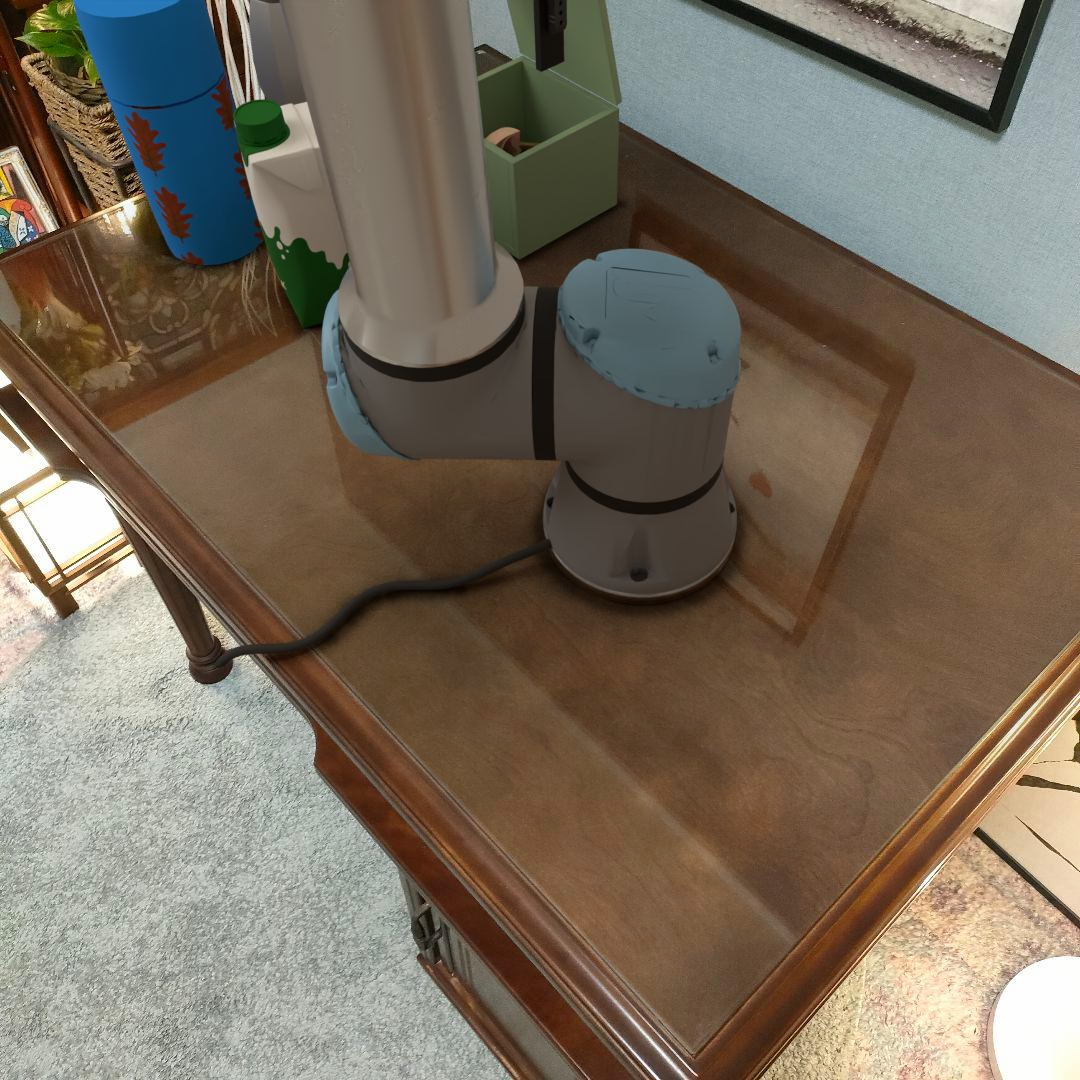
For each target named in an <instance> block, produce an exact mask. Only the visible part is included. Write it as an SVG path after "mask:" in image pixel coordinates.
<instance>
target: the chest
mask: <svg viewBox="0 0 1080 1080" xmlns="http://www.w3.org/2000/svg"><path fill="white" fill-rule="evenodd" d="M477 80H478V90H479V99H480V109H481V118H482V128H483V137H484V147H485V156H486V166H487V175H488V184H489V194H490V203H491V213H492V222H493V232H494V241H495V242H497V243H498V244H499V245H501V246H502V247H503V248H504V249H506V250H507V251H508V253H509V254H510V255H511V256H512V257H515V258H516V259H518V260H521V259H524V257H526V256H528V255H530V254H532V253H533V252H535V251H537V250H539V249H541V248H542V247H544V246H546V245H548V244H549V243H552V242H553V241H554V240H557V239H559V238H560V237H562V236H564V235H565V234H567V233H569V232H571V231H573V230H574V229H576V228H578V227H579V226H582V225H583V224H585V223H586V222H588V221H590V220H592V219H593V218H595V217H597V216H599V215H600V214H602V213H604V212H606V211H608V210H609V209H611V208H613V207H615V206H617V204H618V176H619V175H618V174H619V171H618V170H619V137H620V136H619V135H620V133H619V132H620V108H619V107H618V106H616V105H614V104H612V103H611V102H609V101H607V100H605V99H603V98H601V97H600V96H598V95H596V94H594V93H592V92H591V91H589V90H587V89H585V88H583V87H581V86H580V85H578V84H576V83H574V82H572V81H570V80H569V79H567V78H565V77H563V76H561V75H560V74H558V73H556V72H554V71H552V70H550V69H547V70H545V71H543V72H540V71H538V70H537V69H536V61H534V60H532V59H530V58H529V57H527V56H525V55H521V56H518V57H515V58H514V59H512V60H509V61H508V62H506V63H503V64H501V65H499V66H497V67H495V68H493V69H490V70H489V71H486V72H484V73H483V74H480V75H477ZM504 127H510V128H515V129H517V130H519V131H520V141H519V142H528V143H540V144H538V145H537V146H535V147H533V148H531V149H529V150H527V151H525V152H523V153H521V154H519V155H517V156H515V157H513V156H511V155H510V154H508V153H507V152H505V151H504V150H502V149H500V148H499V147H497V146H496V145H494V144H492V143H491V142H489V141H488V140H486V138H487V137H488V136H489V135H490V134H491V133H493V132H495V131H496V130H498V129H501V128H504Z"/></svg>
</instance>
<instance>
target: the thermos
mask: <svg viewBox="0 0 1080 1080" xmlns="http://www.w3.org/2000/svg"><path fill="white" fill-rule="evenodd" d="M72 3H73V6H74V10H75V13H76V18H77V22H78V25H79V26H80V30H81V33H82V35H83V38H84V40H85V43H86V45H87V48H88V50H89V53H90V56H91V58H92V60H93V64H94V66H95V68H96V71H97V73H98V76H99V78H100V81H101V84H102V86H103V88H104V90H105V93H106V96H107V99H108V101H109V104H110V107H111V110H112V112H113V114H114V117H115V119H116V121H117V125H118V126H119V129H120V132H121V134H122V137H123V140H124V142H125V145H126V147H127V150H128V153H129V155H130V158H131V160H132V163H133V164H134V167H135V171H136V173H137V175H138V178H139V180H140V183H141V185H142V188H143V191H144V194H145V195H146V199H147V201H148V203H149V206H150V209H151V211H152V213H153V216H154V219H155V220H156V223H157V225H158V227H159V229H160V231H161V233H162V236H163V238H164V240H165V243H166V244H167V247H168V248H169V250H170V252H171V253H172V254H173V255H174V257H176V258H177V259H179V260H181V261H183V262H185V263H186V264H191V265H199V266H215V265H222V264H226V263H230V262H234V261H238V260H239V259H242V258H243V257H245V256H247V255H249V254H250V253H252V252H254V251H255V250H256V249H257V248H258V247H259V246H260V245H261V244H262V243H263V242H264V241H265V239H264V236H263V232H262V229H261V226H260V222H259V219H258V216H257V212H256V209H255V206H254V202H253V199H252V195H251V191H250V187H249V183H248V179H247V175H246V171H245V167H244V163H243V158H242V154H241V150H240V148H239V144H238V139H237V133H236V128H235V124H234V119H233V113H234V111H235V110H236V108H237V106H236V102H235V100H234V96H233V93H232V88H231V86H230V82H229V79H228V75H227V72H226V68H225V65H224V61H223V57H222V54H221V51H220V47H219V45H218V40H217V37H216V34H215V30H214V26H213V23H212V20H211V17H210V13H209V9H208V6H207V3H206V0H73V2H72Z"/></svg>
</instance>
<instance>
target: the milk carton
mask: <svg viewBox="0 0 1080 1080" xmlns="http://www.w3.org/2000/svg"><path fill="white" fill-rule="evenodd" d="M233 119H234V124H235V128H236V133H237V139H238V144H239V148H240V150H241V154H242V158H243V163H244V167H245V171H246V175H247V179H248V183H249V187H250V191H251V195H252V199H253V202H254V206H255V209H256V212H257V216H258V219H259V222H260V226H261V229H262V232H263V236H264V242H265V245H266V249H267V252H268V255H269V258H270V261H271V263H272V266H273V268H274V271H275V273H276V275H277V278H278V280H279V282H280V284H281V286H282V289H283V290H284V292H285V294H286V297H287V299H288V301H289V303H290V305H291V307H292V309H293V310H294V311H293V312H294V313H295V315H296V316H297V319H298V321H299V323H300V326H301V327H302V328H303V329H306V328H309V327H313V326H317V325H321V324H323V321H324V315H325V311H326V308H327V305H328V303H329V301H330V299H331V298H332V296H333V294H334V293H335V292H336V291H337V290H339V287H340V285H341V282H342V279H343V277H344V275H345V274H346V272H347V270H348V269H349V268H350V266H351V263H350V259H349V256H348V252H347V248H346V244H345V241H344V237H343V233H342V230H341V226H340V222H339V219H338V215H337V211H336V208H335V204H334V200H333V196H332V193H331V189H330V185H329V182H328V178H327V174H326V171H325V167H324V163H323V159H322V156H321V152H320V148H319V145H318V141H317V137H316V134H315V130H314V126H313V123H312V119H311V115H310V111H309V108H308V104H307V102H304V103H300V104H296V105H293V104H287V105H283V106H280V105H279V104H278V103H276V102H274V101H272V100H267V99H266V98H264V99H263V98H261V99H253V100H249V101H246V102H244V103H241V104H240V105H239V106H237V107H236V110H235V111H234V113H233Z"/></svg>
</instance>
